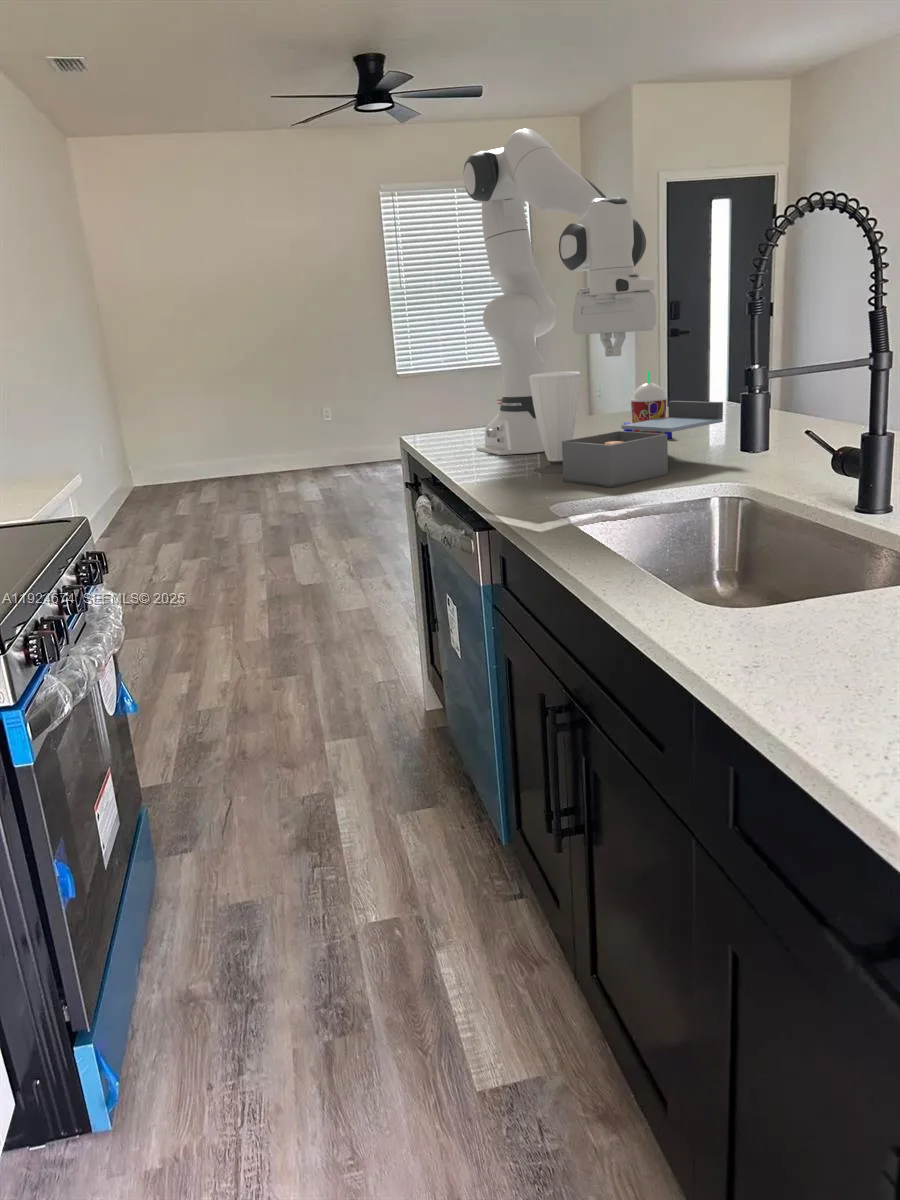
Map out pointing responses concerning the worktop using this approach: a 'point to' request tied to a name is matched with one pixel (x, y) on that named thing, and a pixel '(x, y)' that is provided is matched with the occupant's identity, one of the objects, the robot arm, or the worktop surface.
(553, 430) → the cup
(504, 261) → the robot arm
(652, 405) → the smoothie
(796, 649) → the worktop surface
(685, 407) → the lid
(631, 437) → the box
